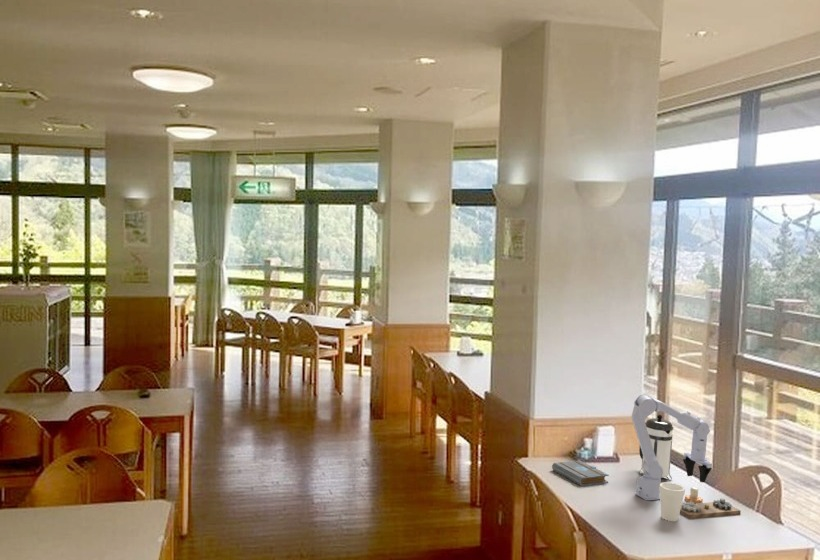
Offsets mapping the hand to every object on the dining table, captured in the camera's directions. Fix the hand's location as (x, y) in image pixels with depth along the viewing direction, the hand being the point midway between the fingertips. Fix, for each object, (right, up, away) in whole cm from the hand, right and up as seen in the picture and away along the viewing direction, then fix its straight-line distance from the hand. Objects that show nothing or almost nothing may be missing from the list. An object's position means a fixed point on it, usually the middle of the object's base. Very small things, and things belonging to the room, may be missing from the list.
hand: (696, 478), depth 299 cm
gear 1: (-8, -8, -15) cm, 19 cm away
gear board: (-1, -10, -12) cm, 16 cm away
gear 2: (+7, -9, -9) cm, 15 cm away
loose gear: (-1, -9, -1) cm, 10 cm away
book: (-45, -6, +23) cm, 50 cm away
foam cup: (-20, -10, -22) cm, 31 cm away
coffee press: (-8, -7, +30) cm, 32 cm away
